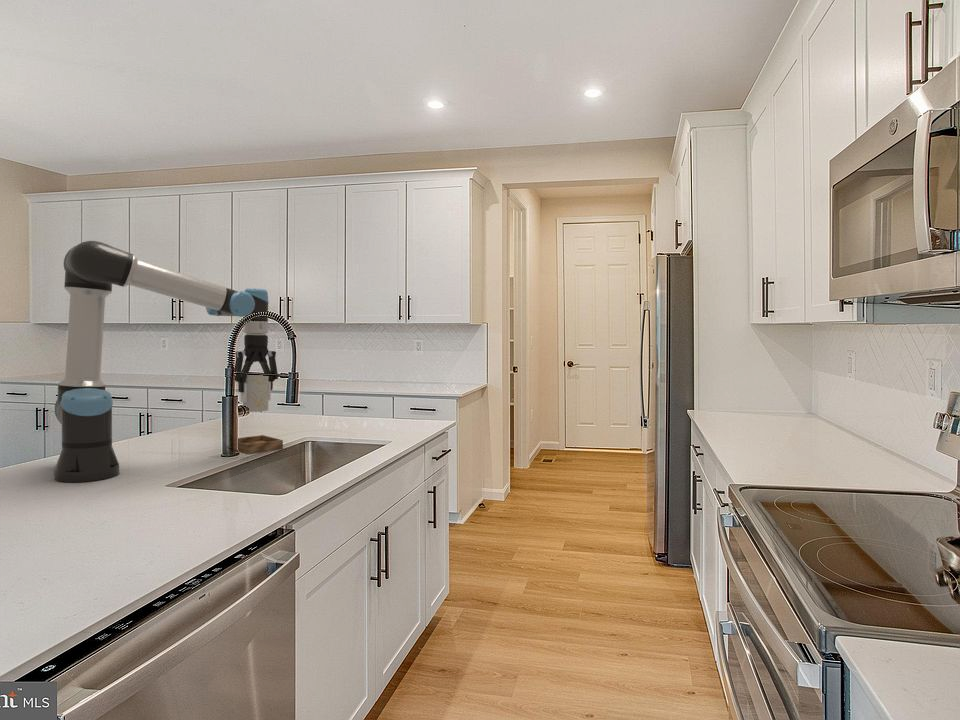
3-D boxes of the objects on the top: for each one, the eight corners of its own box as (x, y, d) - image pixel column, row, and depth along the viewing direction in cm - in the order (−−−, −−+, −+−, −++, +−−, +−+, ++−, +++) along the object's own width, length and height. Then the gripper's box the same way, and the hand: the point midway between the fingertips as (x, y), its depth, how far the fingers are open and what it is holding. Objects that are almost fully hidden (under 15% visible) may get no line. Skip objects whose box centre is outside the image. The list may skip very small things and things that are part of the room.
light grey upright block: (251, 412, 206) (252, 376, 205) (238, 409, 211) (238, 374, 210) (273, 410, 212) (273, 375, 212) (259, 407, 217) (259, 373, 216)
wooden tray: (247, 454, 203) (247, 444, 203) (227, 448, 211) (227, 439, 211) (282, 448, 213) (282, 440, 213) (262, 443, 221) (262, 435, 221)
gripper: (232, 334, 200) (231, 404, 201) (289, 334, 215) (289, 399, 217) (220, 333, 204) (220, 402, 206) (277, 334, 220) (277, 397, 222)
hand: (255, 400), depth 211 cm, fingers closed on light grey upright block, 8 cm apart
